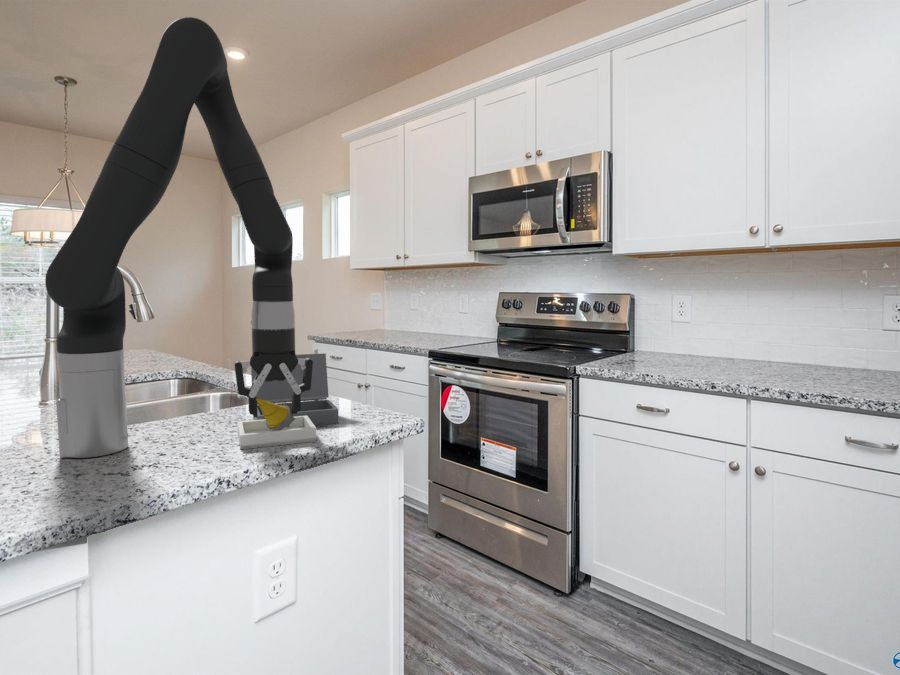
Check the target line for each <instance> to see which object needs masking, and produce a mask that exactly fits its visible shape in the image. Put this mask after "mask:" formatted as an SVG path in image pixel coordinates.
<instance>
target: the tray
mask: <svg viewBox="0 0 900 675" xmlns="http://www.w3.org/2000/svg"><path fill="white" fill-rule="evenodd" d="M294 418H295V420H294V421H293V422H292V423H291V424H290V427H285V428H283V429H282V430H278V431H271V430H270V429H269V428H268V427H267V425H266V422H267V421H266V419H262V420H253V419H252V420H245V421H244V420H240V421H237V438H238V443H239V448H240V450H247V449H255V448H256V449H257V448H258V447H259V448H267V447H275V446H283V445H293V444H302V443H311V442H317V427H316V425H315V426H314V424H313V423H312V421H311V420H310V419H309V417H308V416H307V415H306V416H295V417H294Z"/></svg>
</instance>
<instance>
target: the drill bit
mask: <svg viewBox="0 0 900 675" xmlns="http://www.w3.org/2000/svg"><path fill="white" fill-rule="evenodd" d="M256 400H257V403H258V405H259V407H260V409H261V411H262V413H263V415H264V417H265V419H266V421H267V422H266V425H267V427H268V428H269V429H270V430H271V431H278V430H282V429H283V428H285V427H290V424H291V423H292V422H293V421H294V420H295V418H294V417H293V411H292V409H291V408H290V407H289V406H287V405H278V403H271V402H267V401H264V400H261V399H256Z"/></svg>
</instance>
